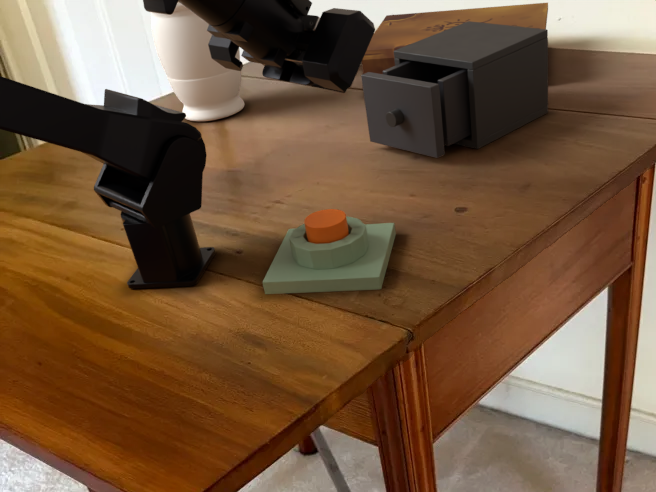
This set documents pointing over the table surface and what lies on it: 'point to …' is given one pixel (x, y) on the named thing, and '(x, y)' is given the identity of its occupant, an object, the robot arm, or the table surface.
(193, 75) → the jar
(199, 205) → the robot arm
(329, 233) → the button
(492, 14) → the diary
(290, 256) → the panel
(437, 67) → the dark grey drawer
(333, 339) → the table surface
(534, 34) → the grey drawer box
